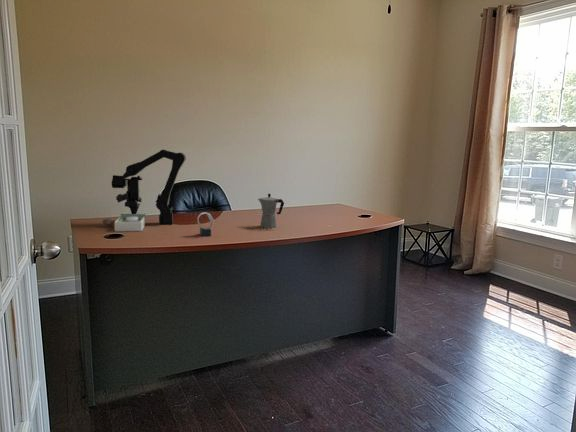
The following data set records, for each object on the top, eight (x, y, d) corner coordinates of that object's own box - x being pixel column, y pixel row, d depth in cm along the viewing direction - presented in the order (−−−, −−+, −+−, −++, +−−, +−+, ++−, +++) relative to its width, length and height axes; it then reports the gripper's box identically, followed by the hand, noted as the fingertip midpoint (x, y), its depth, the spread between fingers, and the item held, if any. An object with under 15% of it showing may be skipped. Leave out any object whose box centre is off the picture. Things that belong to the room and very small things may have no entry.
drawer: (145, 221, 241) (145, 213, 240) (142, 226, 226) (142, 219, 225) (121, 221, 239) (120, 213, 238) (116, 227, 223) (115, 219, 223)
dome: (137, 219, 239) (137, 216, 238) (139, 221, 233) (139, 217, 233) (125, 220, 236) (125, 216, 236) (127, 222, 231) (127, 218, 230)
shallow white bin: (144, 225, 237) (144, 216, 237) (141, 231, 222) (141, 222, 221) (119, 225, 235) (119, 216, 234) (114, 231, 219) (114, 222, 219)
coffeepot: (253, 226, 244) (254, 193, 241) (261, 223, 252) (262, 191, 249) (279, 229, 238) (280, 195, 235) (286, 226, 246) (287, 194, 243)
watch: (214, 235, 217) (215, 213, 216) (198, 236, 215) (198, 213, 213) (212, 233, 223) (212, 211, 221) (196, 234, 220) (196, 211, 218)
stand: (111, 225, 233) (111, 218, 232) (110, 227, 229) (110, 220, 229) (103, 225, 232) (103, 218, 232) (102, 227, 228) (101, 220, 228)
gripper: (120, 186, 246) (120, 214, 249) (113, 190, 228) (114, 220, 230) (141, 186, 248) (141, 214, 251) (136, 190, 230) (137, 220, 233)
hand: (133, 217), depth 241 cm, fingers closed
